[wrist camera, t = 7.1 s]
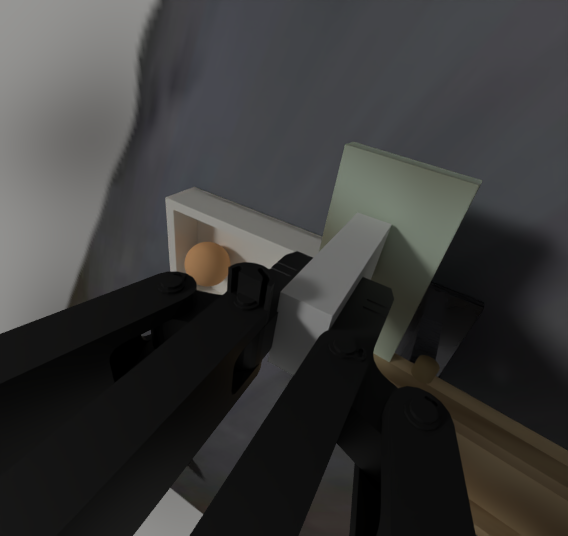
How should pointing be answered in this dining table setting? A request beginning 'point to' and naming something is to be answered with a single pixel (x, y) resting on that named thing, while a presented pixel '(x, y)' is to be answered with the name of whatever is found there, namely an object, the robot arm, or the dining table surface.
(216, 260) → the ball
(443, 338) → the fulcrum
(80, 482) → the robot arm
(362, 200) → the lever
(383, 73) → the dining table surface
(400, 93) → the dining table surface
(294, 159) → the dining table surface
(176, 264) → the dish
